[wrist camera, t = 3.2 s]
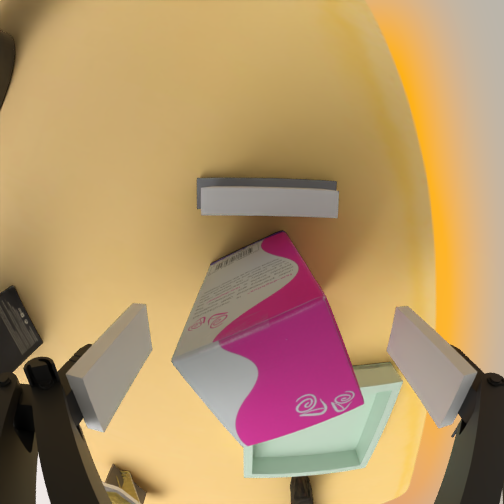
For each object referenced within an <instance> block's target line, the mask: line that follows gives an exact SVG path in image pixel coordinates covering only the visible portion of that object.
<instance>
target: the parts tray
mask: <svg viewBox="0 0 504 504" xmlns="http://www.w3.org/2000/svg"><path fill="white" fill-rule="evenodd" d="M352 367H353V370H354V373H355V376H356V378H357V381H358V384H359V387H360V390H361V393H362V396H363V399H364V404H363V405H361V406H359V407H357V408H355V409H352V410H350V411H348V412H345V413H343V414H341V415H339V416H336V417H334V418H331V419H329V420H326V421H324V422H321V423H319V424H316V425H313V426H311V427H308V428H305V429H302V430H299V431H296V432H294V433H291V434H288V435H284V436H281V437H278V438H275V439H272V440H269V441H265V442H262V443H258V444H255V445H251V446H248V447H244V478H275V477H296V476H309V475H319V474H328V473H335V472H342V471H349V470H355V469H360V468H365V467H366V465H367V463H368V461H369V459H370V457H371V455H372V453H373V451H374V449H375V447H376V445H377V443H378V441H379V439H380V437H381V435H382V432H383V430H384V428H385V426H386V423H387V421H388V419H389V416H390V414H391V412H392V409H393V407H394V404H395V402H396V399H397V396H398V394H399V391H400V388H401V386H402V383H403V381H402V379H401V378H400V376H399V375H398V373H397V372H396V370H395V369H394V367H393V366H392V364H391V363H390V362H385V363H377V364H368V365H358V366H352Z"/></svg>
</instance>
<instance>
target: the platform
mask: <svg viewBox="0 0 504 504" xmlns="http://www.w3.org/2000/svg"><path fill="white" fill-rule="evenodd" d="M125 473H127V474H125ZM102 483H103V485H104V487H105V490H106V492H107V494H108V496H109V498H110V500H111V502H112V503H113V504H143V503H144V500H145V496H146V492H145V491H144V490H143V489H141V488H140V487H139V486H138V485H137V484H135V483H134V482H133V480H132V477H131V474H130V472H129V471H120V470H119V469H118V468H117V467H116V466H115V465H114V464H113V465H112V467H111V469H110V471H109V474H108V476H107V478H106V481H105V483H104V482H102Z"/></svg>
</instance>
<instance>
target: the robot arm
mask: <svg viewBox="0 0 504 504" xmlns="http://www.w3.org/2000/svg"><path fill="white" fill-rule="evenodd" d="M14 57H15V45H14V40H13V38H12V36H11V35H10V34H8V33H6V32H4V31H2V30H0V107H1V104H2V102H3V99H4V96H5V93H6V91H7V87H8V84H9V81H10V77H11V73H12V69H13V64H14ZM151 351H152V344H151V337H150V331H149V323H148V316H147V308H146V304H137V303H133V304H132V305H131V306H130V307H129V308H128V309H127V310H126V311H125V312H124V313H123V314H122V315H121V316H120V317H119V318H118V319H117V320H116V321H115V322H114V323H113V324H112V325H111V326H110V327H109V328H108V329H107V330H106V331H105V332H104V333H103V334H102V335H101V336H100V337H99V338H98V340H97V341H96V342H95V343H94V344H93V345H92V344H87V345H86V346H84V347H82V348H80V349H79V350H78V351H77V352H76V353H75V354H74V356H72V357H71V358H70V359H69V361H67V362H66V363H65V364H64V365H63V366H62V368H61V369H60V370H59V371H58V372H57V370H56V367H55V364H54V362H53V360H52V359H50V358H48V357H37V358H34V359H31V360H30V361H28V362H27V363H26V364H25V365H24V372H25V374H26V377H27V379H28V381H29V384H20V383H19V381H18V378H17V376H16V375H15V374H13V373H10V372H6V373H1V374H0V504H36V472H37V458H38V453H39V458H40V463H41V467H42V472H43V476H44V480H45V484H46V488H47V492H48V496H49V499H50V502H51V504H112V502H111V500H110V498H109V496H108V494H107V492H106V490H105V487H104V485H103V483H102V481H101V479H100V476H99V474H98V472H97V469H96V467H95V464H94V462H93V459H92V457H91V454H90V451H89V449H88V446H87V443H86V440H85V438H84V435H83V432H82V429H81V427H80V425H79V423H80V422H81V420H82V419H83V418H84V421H85V423H86V425H87V427H88V428H90V429H94V430H97V431H100V432H105V430H106V428H107V426H108V424H109V423H110V421H111V419H112V417H113V416H114V414H115V412H116V410H117V409H118V407H119V405H120V403H121V402H122V400H123V398H124V396H125V395H126V393H127V391H128V390H129V388H130V386H131V384H132V383H133V381H134V379H135V378H136V376H137V374H138V373H139V371H140V369H141V368H142V366H143V364H144V363H145V361H146V359H147V358H148V356H149V354H150V353H151ZM387 352H388V354H389V355H390V356H391V358H392V359H393V361H394V362H395V364H396V365H397V366H398V368H399V369H400V371H401V372H402V374H403V375H404V377H405V378H406V380H407V381H408V382H409V384H410V385H411V387H412V388H413V390H414V391H415V393H416V394H417V396H418V397H419V399H420V400H421V402H422V403H423V405H424V406H425V408H426V410H427V411H428V413H429V414H430V416H431V417H432V419H433V420H434V422H435V423H436V425H437V427H438V428H442V427H444V426H448V425H451V424H452V423H453V422H454V420H455V418H456V416H457V414H459V415H460V417H461V418H462V419H461V421H460V423H459V424H458V426H457V428H456V430H455V431H454V433H453V434H452V436H451V437H454V435H455V434H456V437H455V441H454V445H453V449H452V452H451V456H450V459H449V463H448V466H447V469H446V472H445V476H444V478H443V481H442V484H441V487H440V490H439V492H438V495H437V497H436V500H435V502H434V504H499V503H500V497H501V492H502V490H503V504H504V378H503V377H502V376H500V375H499V374H495V373H486V374H484V373H483V372H482V371H481V370H480V369H479V368H478V367H477V366H476V365H475V364H474V363H473V362H472V361H471V360H470V359H469V358H468V357H467V356H465V354H464V353H463V352H462V351H461V350H460V349H458V348H456V347H454V346H453V345H450V344H449V343H447V342H446V341H445V340H444V339H443V338H442V337H441V336H440V335H439V334H438V333H437V332H436V331H435V330H434V329H433V328H431V327H430V326H429V325H428V324H427V323H426V322H425V321H424V320H423V319H422V318H421V317H419V316H418V315H417V314H416V313H415V312H414V311H413V310H412V309H411V308H409V307H408V306H402V307H396V310H395V315H394V320H393V325H392V330H391V334H390V338H389V343H388V347H387Z"/></svg>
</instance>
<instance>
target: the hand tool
mask: <svg viewBox="0 0 504 504" xmlns="http://www.w3.org/2000/svg"><path fill="white" fill-rule="evenodd" d="M290 490H291V504H313V497H312V489H311V485H310V481H309V478H308V477H307V476H296V477H292V479H291V484H290Z"/></svg>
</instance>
